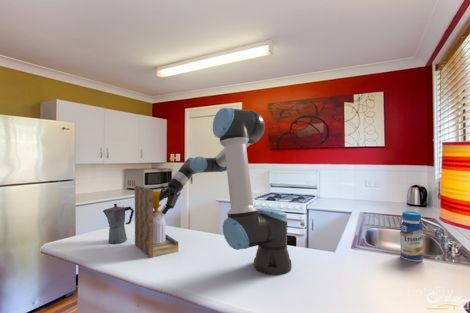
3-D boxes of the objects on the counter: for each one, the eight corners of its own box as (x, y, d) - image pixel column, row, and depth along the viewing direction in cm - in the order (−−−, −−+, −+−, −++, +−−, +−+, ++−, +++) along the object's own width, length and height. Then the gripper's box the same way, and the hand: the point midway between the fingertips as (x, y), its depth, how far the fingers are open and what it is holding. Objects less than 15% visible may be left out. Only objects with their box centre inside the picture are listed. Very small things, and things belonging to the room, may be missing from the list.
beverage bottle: (418, 255, 119) (418, 211, 119) (426, 263, 111) (426, 215, 111) (397, 254, 122) (397, 210, 121) (403, 261, 113) (403, 214, 113)
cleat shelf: (178, 251, 126) (178, 187, 125) (149, 258, 118) (149, 190, 117) (160, 239, 143) (160, 183, 143) (134, 244, 135) (134, 185, 135)
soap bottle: (167, 238, 135) (167, 190, 135) (163, 244, 126) (163, 192, 126) (149, 238, 135) (149, 190, 135) (143, 244, 126) (144, 192, 126)
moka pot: (104, 239, 143) (103, 202, 143) (134, 237, 148) (134, 201, 148) (100, 245, 134) (100, 205, 134) (133, 242, 139) (133, 204, 139)
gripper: (196, 189, 133) (169, 225, 122) (169, 185, 150) (144, 217, 139) (187, 179, 129) (159, 216, 118) (161, 176, 146) (134, 208, 135)
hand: (151, 216), depth 128 cm, fingers open, 11 cm apart
